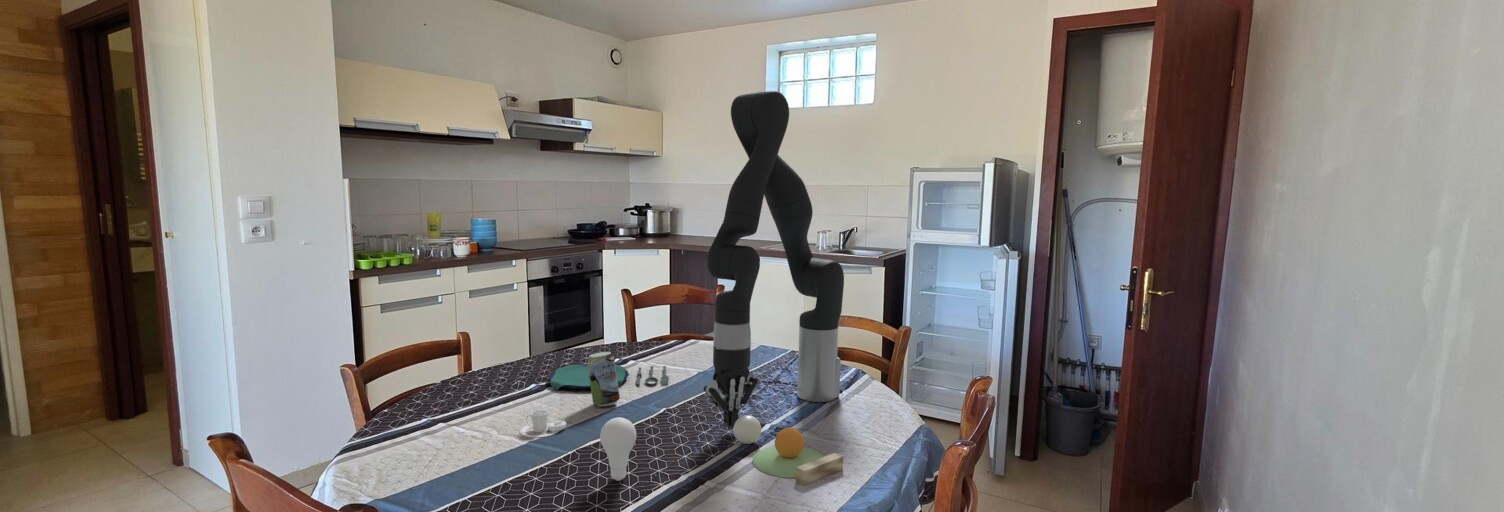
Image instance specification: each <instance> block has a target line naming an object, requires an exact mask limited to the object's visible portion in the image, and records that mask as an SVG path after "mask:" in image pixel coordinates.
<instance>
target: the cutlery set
mask: <svg viewBox="0 0 1504 512" xmlns="http://www.w3.org/2000/svg"><path fill="white" fill-rule="evenodd" d="M615 367H616V374H617V382H618V386H620V385H622V384H623V383H624V381H625V380H627V379H628V377H629V376H630V373H629V371H628V370H627V369H626V367H625V366H621V365H618V364H615ZM662 367H663V368H662V370H663V374H662V376H661V377H660V381H661V385H662V386H666V385H667V386H668V385H669V381H670V377H669V376H667V375H668V374H667V368H666V365H663V366H662ZM649 368H650V377H646V378H645V380H644V382H645V383H646V384H647V385H650V386H651V385H656V384H657V383H658V381H659V379H658V378H656V377H655V376H654V365H653V366H652V365H651V366H649ZM653 376H654V377H653ZM642 377H643V375H642V367H638V372H637V374H636V381H635V383H636V386H638V387H639V386H640V384H641V378H642ZM548 382H550V386H551V387H552V389H553V390H556V391H558V390H559V389H560V388H567V389H576V390H577V389H582V390H585V389H586V390H587V389H591V386H590V379H589V371H588V364H587V363H586V364H572V365H567V366H563V367H559V368H556V370H555V371H553V372H551V373H550V374H549V375H548ZM649 382H654V383H649Z"/></svg>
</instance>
